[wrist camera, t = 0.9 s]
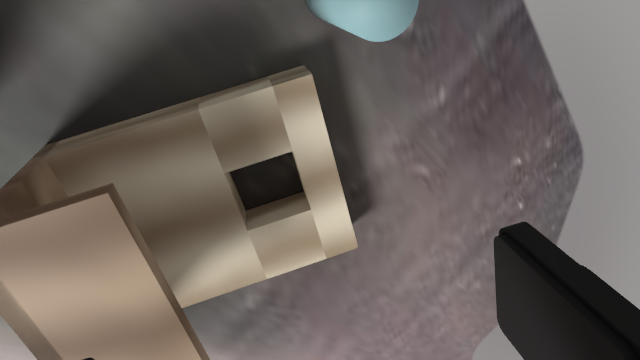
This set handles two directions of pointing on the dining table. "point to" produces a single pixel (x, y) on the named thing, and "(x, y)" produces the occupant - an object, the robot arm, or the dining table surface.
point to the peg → (367, 16)
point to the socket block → (163, 221)
